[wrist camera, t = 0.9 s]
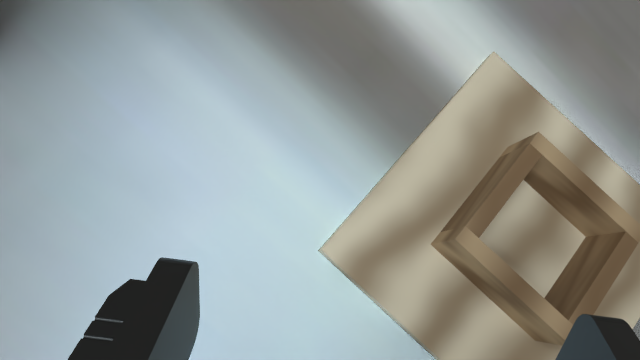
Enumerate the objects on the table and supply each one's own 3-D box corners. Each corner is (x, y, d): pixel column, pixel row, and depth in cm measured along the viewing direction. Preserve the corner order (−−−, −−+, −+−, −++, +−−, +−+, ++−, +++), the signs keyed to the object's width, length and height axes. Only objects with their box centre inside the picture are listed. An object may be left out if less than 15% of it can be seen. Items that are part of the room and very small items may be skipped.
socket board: (318, 250, 35) (332, 245, 30) (487, 56, 41) (522, 26, 36) (543, 458, 35) (594, 486, 30) (679, 233, 41) (740, 226, 36)
